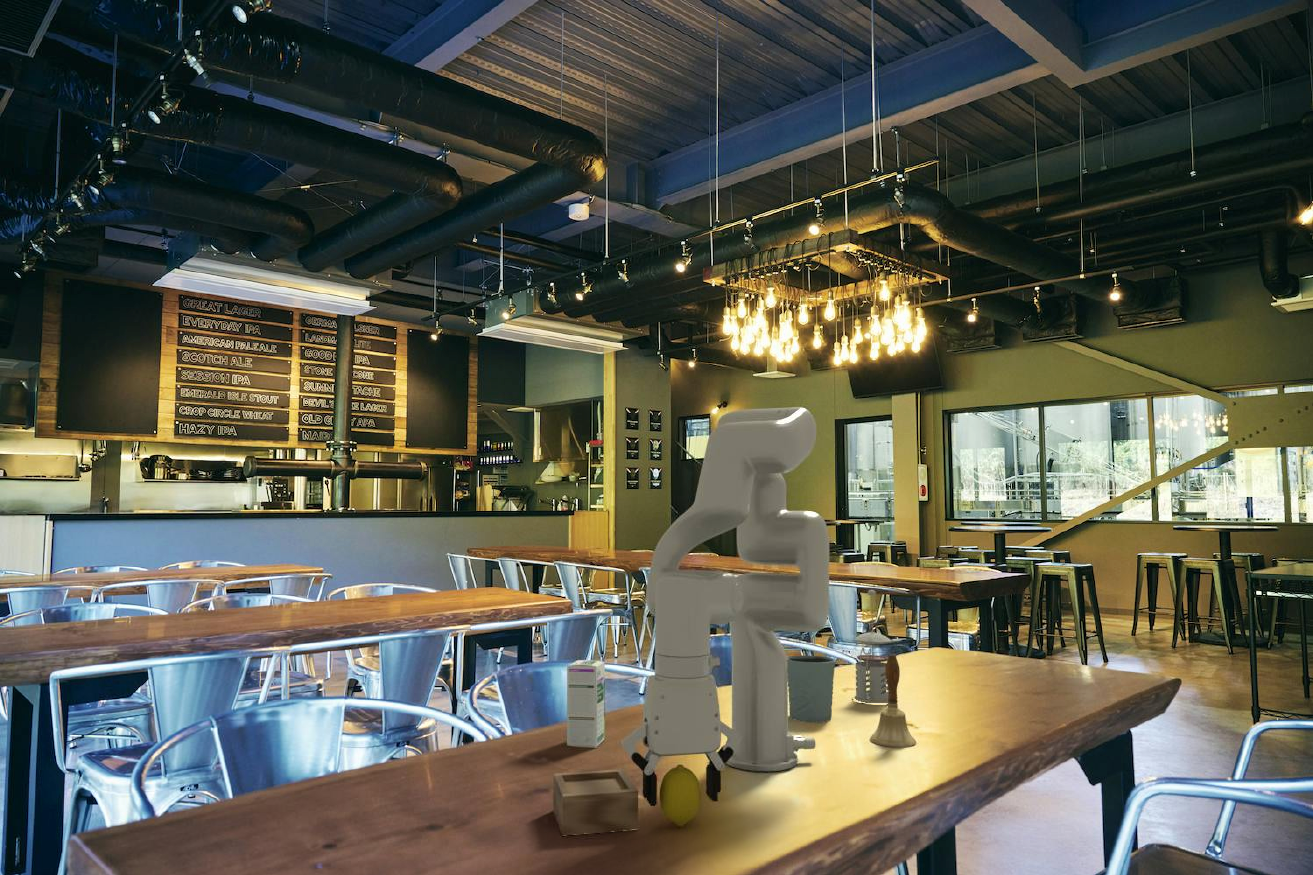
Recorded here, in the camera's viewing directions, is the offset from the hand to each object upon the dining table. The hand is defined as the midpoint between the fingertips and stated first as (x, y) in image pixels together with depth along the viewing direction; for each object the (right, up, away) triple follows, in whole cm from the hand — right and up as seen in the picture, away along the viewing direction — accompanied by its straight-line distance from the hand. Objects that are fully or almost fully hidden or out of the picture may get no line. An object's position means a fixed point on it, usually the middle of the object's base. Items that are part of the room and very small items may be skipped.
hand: (681, 799), depth 112 cm
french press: (+46, -12, +77) cm, 91 cm away
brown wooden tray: (-12, -4, +2) cm, 13 cm away
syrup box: (-16, -8, +41) cm, 45 cm away
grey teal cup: (+29, -10, +62) cm, 69 cm away
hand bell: (+41, -8, +43) cm, 60 cm away
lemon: (0, -4, 0) cm, 4 cm away
